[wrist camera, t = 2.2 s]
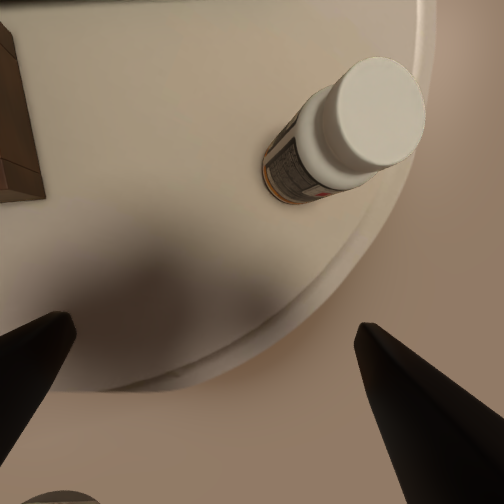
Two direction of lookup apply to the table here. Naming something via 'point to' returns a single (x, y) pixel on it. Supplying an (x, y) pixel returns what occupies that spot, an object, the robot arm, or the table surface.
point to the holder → (15, 132)
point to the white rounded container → (347, 133)
